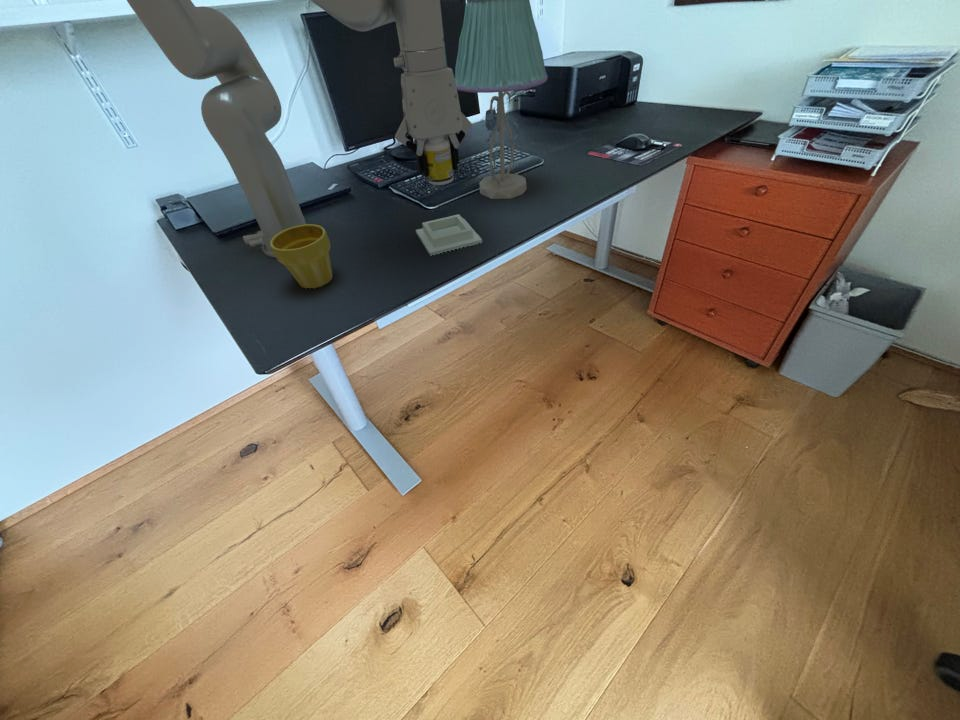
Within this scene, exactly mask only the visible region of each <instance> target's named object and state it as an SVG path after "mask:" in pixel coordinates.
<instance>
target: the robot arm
mask: <svg viewBox="0 0 960 720" xmlns="http://www.w3.org/2000/svg"><path fill="white" fill-rule="evenodd" d="M126 1H127V4H128V5H129V6H130V8H131V9H132V10H133V12H134V13H135V15H136V16H137V18H138V19H139V20H140V22H141V23H142V25H143V26H144V27H145V29H146V30H147V32H148V34H150V36H151V37H152V39H153V40H154V41H155V43H156V44H157V46H158V47H159V49H160V50H161V51H162V53H163V54H164V56H165V57H166V59H167V60H168V61H169V62H170V64H171V65H172V66H173V67H174V68H175V69H176V70H177V71H178V72H179V73H180V74H182V75H183V76H185V77H186V78H188V79H191V80H197V81H198V80H206V79H210V78H213V77H216V78H217V80H218V81H219V83H220V84H218V85H216V86H214V87H212V88H210V89H209V90H208V91H207V92H206V93H205V94H204V96H203V98H202V101H201V104H200V105H201V106H200V109H201V117H202V120H203V123H204V125H205V128H207V131H208V132H209V133H210V135H211V137H212V138H213V139H214V142H216V143H217V145H218V147H219V148H220V150H221V151H222V153H223V154H224V157H225V158H226V160H227V162H228V163H229V165H230V166H229V167H231V170H232V172H233V174H234V175H235V178H236V180H237V183H238V184H239V186H240V188H241V190H242V192H243V194H244V196H245V198H246V201H247V203H248V205H249V207H250V209H251V211H252V213H253V215H254V218H255V219H256V222H257V224H258V226H259V228H260V230H259V231H256V233H254V234H247V235H243V236H242V239H243V241H244V243H245V245H246V246H247V245H249V246H250V247H251V248H252V247H257V246H260V245H261V249H262V252H263V253H264V254H265V255H266V256H268V257H270V258H275V259H277V258H276V256H275V254H274V252H273V250H272V248H271V246H270V241H271V239H272V238H273V237H274V236H275V235H276V234H278V233H279V232H281V231H283V230H285V229H288V228H291V227H294V226H298V225H304V224H307V222H306V219H305V217H304V215H303V212H302V210H301V207H300V204H299V202H298V198H297V196H296V194H295V191H294V189H293V185H292V183H291V181H290V178H289V176H288V172H287V170H286V168H285V165H284V164H283V161H282V158H281V156H280V155H279V153H278V151H277V150H276V148H275V147H274V145H273V143H272V142H271V141H270V139H269V138H268V137H267V135H266V133H267V132H268V131H269V132H270V130H272V129H273V128H274V127H276V126H277V124H279V122H280V120H281V118H282V111H283V109H282V104H281V101H280V98H279V95H278V94H277V93H278V92H277V90H275V87H274V86H273V83H272V82H271V80H270V78H269V77H268V76H267V73H266V72H265V70H264V68H263V67H262V65H261V63H260V62H259V60H258V59H257V56H256V55H255V53H254V51H253V50H252V47H250V44H249V43H248V41H247V39H246V38H245V36H244V35H243V33H242V32H241V31H240V29H239V28H238V27H237V26H236V25H235V23H234V22H233V21H232V20H231V19H230V18H229V17H227V16H226V15H225V14H224V13H222V12H221V11H219V10H217V9H216V8H215V9H214V8H213V7H208V6H196V5H195V4H194V3H193V1H192V0H126ZM310 2H312V3H314V4H315V5H316V6H317V7H320V9H322V10H323V11H324V12H326V13H327V14H328V15H330V16H331V17H332V18H334V19H335V20H337V21H338V22H339V23H340V24H342V25H344V26H346V27H347V28H349V29H351V30H355V31H357V32H368V31H371V30H374V29H376V28H379V27H381V26H384V25H387V24H390V23H394V22H395V25H396V31H397V32H396V33H397V37H398V43H399V49H400V51H399V54H398V56H396V57H393V64H394V67H395V68H401V69H402V70H403V73H401V74H400V85H401V86H400V89H401V102H402V112H403V119H402V121H401V123H400V125H399V127H398V129H397V131H396V132H395V135H394V138H395V139H396V141H398V142H399V143H400V144H402V145H404V146H405V147H407V148H408V149H409V150H410V151H411V152H413V153H414V154H415V155H416V156H415V157H416V162H417V168H418V171H419V173H421V174H422V175H423V176H424V177H425V178H427V177H428V176H429V173H428V166H427V160H426V155H425V154H424V152H423V147H424V141H425V140H426V139H431V138H436V137H441V136H444V137H447V138H446V139H448V140H449V143H450V150H451V158H452V166H453V171H458V169H459V167H458V165H459V164H460V158H459V148H460V144H461V143H462V142H463V139H464V138H465V137H466V134H468V132H469V130H470V129H471V128H472V126H473V124H472V122H471V121H470V120H469V119H468V118H467V117H466V115H465V114H464V113H463V112H462V111H461V105H460V99H459V93H458V90H457V87H456V82H455V74H454V71H453V69H452V68H451V67H448V63H447V62H448V61H447V55H446V52H447V51H446V44H445V43H446V42H445V35H444V28H443V18H442V17H443V16H442V7H441V0H310ZM406 134H409V136H410V137H411V138H412V139H413V141H411V139H408V138H407V137H406Z"/></svg>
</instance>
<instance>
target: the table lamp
mask: <svg viewBox="0 0 960 720" xmlns="http://www.w3.org/2000/svg"><path fill="white" fill-rule="evenodd" d="M530 1H531V0H466V4H465V7H464V8H465V9H464V17H463V21H462V23H463V24H462V28H461V32H460V36H459V40H458V50H457V56H456V63H455V69H454V71H455V74H454V78H455V82H456V87H457V91H461V92H467V93H478V94H479V93H480V94H481V93H482V94H483V93H484V94H488V93H489V94H490V93H491V94H493V93H497V95H494V96H492V97H491V99H490V101H489V102H490V105H489V109H488V110H486V111H485V127H486V130H487V131H488V132H489V131H490V132H489V135H488V138H487V139H486V141H485V147H486V149H487V152H488V153H489V171H490V173H491V175H488V176H485V177H483V179H481V181H479V182H478V183H479V194H480V195H481V196H484V197H486V198H488V199H490V200H502V199H503V200H504V199H505V200H507V199H508V200H511V199H514V198H517V197H519V196H522V195H523V194H524V193H525V192H526V191H527V190H528V187H527V180H526V177H525V176H522V175H521V174H519V173H518V174H517V173H510V171H512V170H514V168H515V166H514V165H515V161H516V160H515V158H514V151H515V147H514V146H515V145H514V142H515V141H516V139H517V138H518V137H517V136H518V132H519V126H518V123H516V122H515V119H514V118H511V117H509V116H508V114H507V112H506V110H505V101H504V98H505V96H506V95H507V96H508V103H509V105H510V103H511V97H512V96H511V95H512V94H510V92H512V91H514V92H515V91H520V90H526V89H530V88H533V87H537V86H540V85H542V84H544V83H546V82H547V80H548V78H549V77H548V73H547V71H546V67H545V61H544V60H545V59H544V54H543V49H542V45H541V41H540V37H539V33H538V29H537V26H536V23H535V22H536V21H535V20H534V17H533V16H534V15H533V11H532V7H531V3H530ZM495 101H496V108H495V107H494V106H493V103H494V102H495ZM509 123H510V124H512V125H514V126H516V134H515V136H514V138H513V132H512V129H511V127H510V124H509ZM504 124H505V126H504ZM505 127H506V129H507V132H508V135H509V137H510V141H509V140H508V141H507V147H508V148H509V150H510V161H509V162H510V163H509V165H508V168H507V171H506V167H505V162H506V161H505V134H504V133H505V132H504V131H505ZM497 131H498V132H499V153H498V149H497V148H496V150H495V152H493V150H494V145H495V140H496V136H497ZM490 140H491V142H490V149H489V147H488V143H489V141H490ZM498 156H499V157H498ZM497 158H499V159H500V160H499V166H500V167H499V168H500V169H499V170H500V173H495V169H496V164H497V163H496V162H497V161H496V160H497Z"/></svg>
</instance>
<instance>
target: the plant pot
mask: <svg viewBox="0 0 960 720" xmlns="http://www.w3.org/2000/svg"><path fill="white" fill-rule="evenodd" d="M270 246H271V248H272V250H273V252H274V254H275V256H276V258H275V259H277V261H278V262H279V263H280V264H282V265H284V266H285V267H286V269H287V270H288V271H289V273H290V274H291V275H292V276H293V277H294V279H295V281H297V283H298V284H299V286H300V287H301V288H304V289H307V288H309V290H311V289H310V288H313V289H317V287H318V288H321V287H324V286H325V284H326V285H327V284H328V283H330V282H331V281H332V279H333V275H334V274H333V268H332V263H331V262H332V261H331V256H330V250H331V247H332V246H331V242H330V239H329V236H328V233H327V231H326V229H325V228H324V227H323V226H321V225H319V224H312V223H306V224H304V225H298V226H294V227H291V228H288V229H285V230H283V231H281V232H279V233H278V234H276V235H275V236H274V237H273V238H272V239H271V241H270ZM323 285H324V286H323Z"/></svg>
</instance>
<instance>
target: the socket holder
mask: <svg viewBox="0 0 960 720" xmlns="http://www.w3.org/2000/svg"><path fill="white" fill-rule="evenodd" d="M421 226H422V228H418V229H415V234H416V235H417V237H418V238H419V241H420V242H421V243H422V245H423V246H424V248H425V250H426V251H427V253H428V255H429V254H430V255H429V256H430V257H431V256H432V255H433V256H437V255H440V253H441V254H444V253H443V252H445V253H448V252H447V251H449V252H452V251H451V250H453V251H455V249H457V250H460V249H463V247H464V248H467V246H468V247H471V246H476V245H479V243H480V244H482V243H483V239H482V238H481V236H480V235H479V234H478V233H477V232H476V231H475V229H473V228H472V226H471V224H469V222H467V220H466V219H465V218H463V217H462V216H461V215H460V214H454V215H450V216H447V217H446V216H445V217H442V218H437V219H433V220H428V221H425V222H422V223H421ZM459 248H460V249H459ZM436 254H437V255H436ZM433 256H432V257H433Z"/></svg>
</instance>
